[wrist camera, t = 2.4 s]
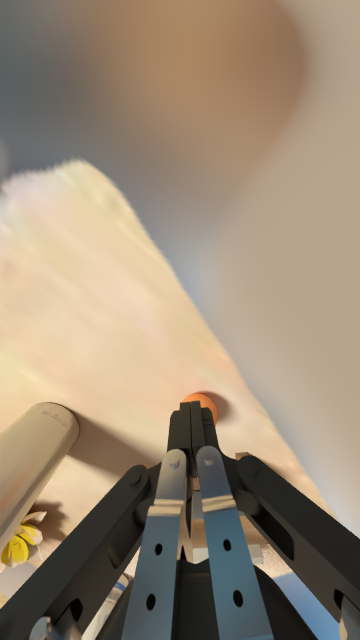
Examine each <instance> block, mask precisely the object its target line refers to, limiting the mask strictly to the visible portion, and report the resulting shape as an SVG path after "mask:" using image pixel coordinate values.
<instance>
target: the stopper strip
mask: <svg viewBox="0 0 360 640" xmlns="http://www.w3.org/2000/svg"><path fill="white" fill-rule="evenodd" d="M248 549H249V552H250V556H251V559H252V563H253V564H264V561H263V554H262V551H261V547H260V544H255V545H248ZM207 558H209V555H208V548H195V549H193V561H194V564H197V563H199V562H201V561H203V560H205V559H207Z"/></svg>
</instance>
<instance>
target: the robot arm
mask: <svg viewBox="0 0 360 640" xmlns="http://www.w3.org/2000/svg"><path fill="white" fill-rule="evenodd" d="M190 404H191V405H190ZM78 435H79V424H78V422H77V419H76V418H75V417H74V415H73V414H72V413H71V412H70V411H69V410H67V409H66V408H64V407H62V406H60V405H57V404H53V403H40V404H37V405H35V406H33V407H31V408H30V409H29V410H28V411H27V412H26V413H24V414H23V415H22V416H21V417H20V418H19V419H17V420H16V421H15V422H14V423H13V424H12V425H10V426H9V427H8V428H7V429H6V430H4V431H3V432H2V433H1V434H0V554H1V552H2V551H3V549H4V548H5V546H6V545H7V543H8V542H9V540H10V539H11V537H12V536H13V534H14V533H15V531H16V530H17V528H18V526H19V525H20V523H21V522H22V520H23V519H24V517H25V516H26V514H27V513H28V511H29V510H30V508H31V507H32V505H33V504H34V502H35V501H36V499H37V498H38V496H39V495H40V493H41V492H42V490H43V489H44V487H45V486H46V484H47V483H48V481H49V480H50V478H51V477H52V475H53V474H54V472H55V471H56V469H57V468H58V466H59V465H60V463H61V462H62V460H63V459H64V457H65V456H66V454H67V453H68V451H69V450H70V448H71V446H72V445H73V443H74V442H75V440H76V439H77V437H78ZM196 470H197V471H196ZM197 475H198V478H199V483H200V491H201V498H202V509H203V517H204V524H205V532H206V540H207V547H208V555H209V558H207V559H205V560H203V561H201V562H199V563H197V564H194V561H193V545H192V538H193V478H197ZM238 511H241V512H243V513H244V515H245V516H246V518H247V519H248V520H249V521H250V522H251V523H252V525H253V526H254V527H255V528H256V529H257V530H258V531H259V533H260V534H261V535H262V536H263V537H264V538H265V540H266V541H267V542H268V543H269V544H270V545H271V546H272V548H273V549H274V550H275V551H276V552H277V553H278V554H279V556H280V557H281V558H282V559H283V560H284V561H285V562H286V564H287V565H288V566H289V567H290V568H291V569H292V570H293V572H294V573H295V574H296V575H297V576H298V577H299V578H300V580H301V581H302V582H303V583H304V584H305V585H306V586H307V588H308V589H309V590H310V591H311V592H312V593H313V595H314V596H315V597H316V598H317V599H318V600H319V601H320V602H321V604H322V605H323V606H324V607H325V608H326V609H327V611H328V612H329V613H330V614H331V615H332V616H333V617H334V619H335V620H336V621H337V622H338V623H339V631H340V637H341V640H360V539H359V538H358V537H357V536H355V535H354V534H353V533H352V532H350V531H349V530H348V529H346V528H345V527H344V526H343V525H341V524H340V523H339V522H338V521H336V520H335V519H334V518H333V517H331V516H330V515H329V514H328V513H326V512H325V511H324V510H323V509H321V508H320V507H319V506H317V505H316V504H315V503H314V502H312V501H311V500H310V499H309V498H307V497H306V496H305V495H304V494H302V493H301V492H300V491H299V490H297V489H296V488H295V487H293V486H292V485H291V484H290V483H288V482H287V481H286V480H285V479H283V478H282V477H281V476H280V475H278V474H277V473H276V472H275V471H273V470H272V469H271V468H269V467H268V466H267V465H266V464H264V463H263V462H262V461H261V460H259V459H258V458H256V457H254V456H251V455H246V456H243V457H241V458H240V459H239V460H236V459H232V458H229V457H227V456H226V455H224V454H223V453H222V452H221V450H220V448H219V445H218V440H217V435H216V430H215V425H214V420H213V414H212V411H211V410H210V409H209V407H203V408H201V403H200V400H197V401H188V402H180V410H177V411H174V412H173V413H172V415H171V417H170V427H169V437H168V446H167V453H166V454H165V456H164V457H163V460H162V462H160V463H159V464H158V465H156V466H154V467H152V468H150V469H148V470H147V468H146V467H145V466H143V465H136V466H134V467H132V468H131V469H129V470H128V471H127V472H126V474H125V475H124V476H123V477H122V478H121V479H120V480H119V481H118V482H117V483H116V484H115V485H114V487H113V488H112V489H111V490H110V491H109V492H108V493H107V494H106V495H105V496H104V497H103V498H102V500H101V501H100V502H99V503H98V504H97V505H96V506H95V507H94V508H93V509H92V510H91V511H90V513H89V514H88V515H87V516H86V517H85V518H84V519H83V520H82V521H81V522H80V523H79V525H78V526H77V527H76V528H75V529H74V530H73V531H72V532H71V533H70V534H69V535H68V536H67V538H66V539H65V540H64V541H63V542H62V543H61V544H60V545H59V546H58V547H57V548H56V549H55V551H54V552H53V553H52V554H51V555H50V556H49V557H48V558H47V559H46V560H45V561H44V562H43V564H42V565H41V566H40V567H39V568H38V569H37V570H36V571H35V572H34V573H33V574H32V576H31V577H30V578H29V579H28V580H27V581H26V582H25V583H24V584H23V585H22V586H21V587H20V588H19V590H18V591H17V592H16V593H15V594H14V595H13V596H12V597H11V598H10V599H9V600H8V602H7V603H6V604H5V605H4V606H3V607H2V608H1V609H0V640H81V637H82V635H83V634H84V632H85V631H86V629H87V628H88V626H89V625H90V623H91V622H92V620H93V618H94V617H95V615H96V614H97V612H98V611H99V609H100V608H101V606H102V605H103V603H104V601H105V600H106V598H107V597H108V595H109V594H110V592H111V591H112V589H113V588H114V586H115V584H116V583H117V581H118V580H119V578H120V577H121V575H122V574H123V572H124V571H125V569H126V567H127V566H128V564H129V563H130V561H131V560H132V558H133V557H134V555H135V553H136V552H137V550H138V549H139V547H140V546H141V547H140V552H139V557H138V561H137V566H136V571H135V576H134V578H133V579H132V580H131V581H130V583H129V584H128V585H127V586H126V588H125V589H124V591H123V592H122V594H121V595H120V597H119V599H118V600H117V602H116V604H115V605H114V607H113V609H112V611H111V612H110V614H109V616H108V617H107V619H106V621H105V623H104V624H103V626H102V628H101V630H100V631H99V633H98V635H97V636H96V638H95V640H318V639H317V637H316V636H315V635H314V633H312V631H311V629H310V628H309V627H308V625H307V624H306V623H305V621H304V620H303V619H302V617H301V616H300V615H299V613H298V612H297V610H296V609H295V608H294V606H293V605H292V604H291V603H290V601H289V600H288V598H287V597H286V596H285V594H284V593H283V592H282V590H281V589H280V588H279V586H278V585H277V584H276V583H275V582H274V581H273V580H272V579H271V578H270V577H269V576H268V575H267V574H266V573H265V572H264V571H263V570H261V569H260V568H258V567H257V566H255V565H253V563H252V559H251V556H250V552H249V549H248V545H247V542H246V538H245V535H244V531H243V527H242V524H241V520H240V517H239V513H238Z"/></svg>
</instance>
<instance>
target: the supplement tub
mask: <svg viewBox="0 0 360 640" xmlns="http://www.w3.org/2000/svg"><path fill="white" fill-rule="evenodd" d="M128 584H129V582H128V580H127V578H126V577H125V576H124V575H123V574H122V575H121V577H120V578H119V580H118V581H117V583H116V584H115V586H114V588H113V589H112V591H111V592H110V594H109V595H108V597H107V598H106V600H105V601H104V603H103V605H102V606H101V608H100V609H99V611H98V612H97V614H96V615H95V617H94V618H93V620H92V622H91V623H90V625H89V626H88V628H87V629H86V631H85V632H84V634H83V635H82V637H81V640H95V638H96V636H97V635H98V633H99V631H100V630H101V628H102V626H103V624H104V623H105V621H106V619H107V617H108V616H109V614H110V612H111V611H112V609H113V607H114V605H115V604H116V602H117V600H118V599H119V597H120V595H121V594H122V592H123V591H124V589H125V588H126V586H127V585H128Z"/></svg>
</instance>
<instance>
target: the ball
mask: <svg viewBox="0 0 360 640" xmlns="http://www.w3.org/2000/svg"><path fill="white" fill-rule="evenodd" d="M197 400H200V403H201V408H203V407H209V409H210V410H211V411H212V414H213V420H214V425H215V426H216V423H217V410H216V407H215V405H214V403H213V402H212V400H211V399H210V398H208V397H207V396H205V395H203V394H198V393H196V394H191V395H189V396H188V397H186V398H185V399H184V400H183V402H188V401H197ZM190 405H191V404H190ZM179 410H180V409H179Z"/></svg>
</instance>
